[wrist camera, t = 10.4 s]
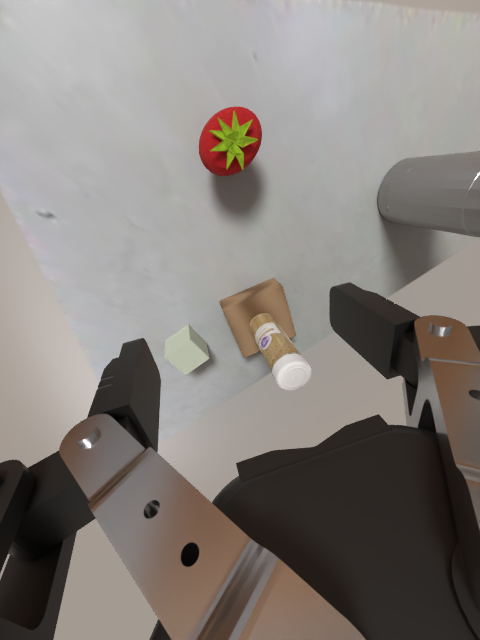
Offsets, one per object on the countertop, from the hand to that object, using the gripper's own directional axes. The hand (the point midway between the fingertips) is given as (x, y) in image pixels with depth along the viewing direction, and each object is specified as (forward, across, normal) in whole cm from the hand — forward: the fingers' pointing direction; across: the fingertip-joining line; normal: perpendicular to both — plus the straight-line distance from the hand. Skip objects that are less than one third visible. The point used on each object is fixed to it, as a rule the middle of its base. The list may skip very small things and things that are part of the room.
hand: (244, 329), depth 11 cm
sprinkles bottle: (+26, -7, +17) cm, 32 cm away
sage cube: (+30, +6, +18) cm, 36 cm away
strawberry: (+30, -6, -8) cm, 32 cm away
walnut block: (+30, -7, +17) cm, 35 cm away
